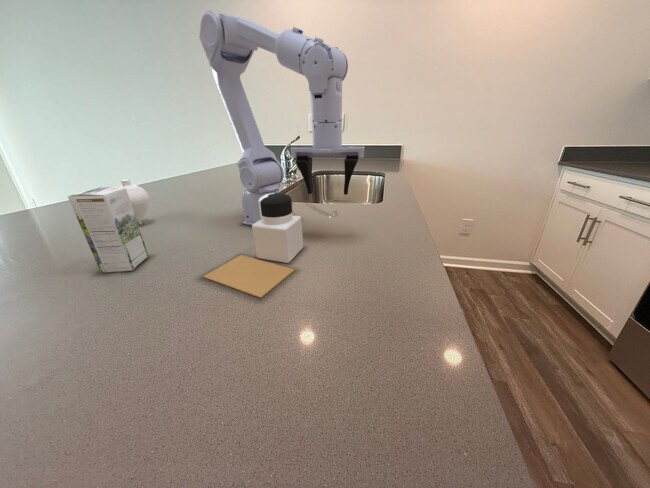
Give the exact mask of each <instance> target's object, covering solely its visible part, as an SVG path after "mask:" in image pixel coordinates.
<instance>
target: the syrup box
mask: <svg viewBox="0 0 650 488" xmlns="http://www.w3.org/2000/svg"><path fill="white" fill-rule="evenodd" d="M67 199H68V202H69V203H70V206H71V208H72V211H73V212H74V215H75V217H76V220H77V221H78V224H79V226H80V228H81V231H82V233H83V235H84V237H85V240H86V243H87V244H88V247H89V248H90V251H91V253H92V256H93V258H94V260H95V262H96V265H97V267H98V269H99V271H100V273H104V274H105V273H119V272H120V273H121V272H122V273H123V272H132V271H134V270H135V269H136V268H138V267H139V266H140V265H141V264H142V263H144V262H145V261H146V260H147V259H148V258H149V253H148V250H147V247H146V245H145V241H144V238H143V235H142V232H141V229H140V226H139V222H138V221H137V220H136V217H135V214H134V211H133V208H132V205H131V202H130V199H129V196H128V193H127V190H126V188H123V187H121V186H97V187H92V188H89V189H86V190H83V191H81V192H80V191H79V192H77V193H73V194H70V195H68V196H67Z"/></svg>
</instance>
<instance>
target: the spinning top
mask: <svg viewBox="0 0 650 488" xmlns="http://www.w3.org/2000/svg"><path fill="white" fill-rule="evenodd" d="M120 183H121V186H120V187H123V188H126V190H127V193H128V196H129V199H130V202H131V205H132V208H133V211H134V214H135V217H136V220H137V222H138V224H139V225H142V224H143V223H142V221H143V219H144V217H145V216H146V213H147V211H148V208H149V205H150V200H151V199H150V195H149V193H148V192H147V190H145V189H144V188H142V187H141V186H140V185H135V184H132V182H131V180H130V179H121V180H120Z"/></svg>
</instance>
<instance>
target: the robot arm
mask: <svg viewBox="0 0 650 488" xmlns="http://www.w3.org/2000/svg"><path fill="white" fill-rule="evenodd" d="M199 41H200V43H201V46H202V49H203V51H204V53H205V56H206V59H207V61H208V64H209V66H210V68H211V72H212V76H213V78H214V81H215V85H216V86H217V90H218V92H219V95H220V97H221V100H222V102H223V105H224V107H225V110H226V113H227V115H228V118H229V120H230V124H231V125H232V128H233V131H234V134H235V136H236V138H237V141H238V143H239V146H240V149H241V152H242V153H241V156H240V157H239V159H238V160H237V162H236V165H237V167H238V170H239V179H240V182H241V184H242V186H243V187H244V189H245V190H244V191H243V193H242V194H241V195H242V196H241V205H242V210H243V216H244V221H242V224H244V225H248V226H252V225H253V224H255V223H256V222H258V221H259V220H261V216H260V209H259V202H258V200H259V199H260V198H261V197H262V196H264V195H266V194H271V193H280V190H279V189H280V188H281V183H282V182H283V181H284V177H285V172H284V168H283V166H282V164H281V163H280V162H279V160H278V159H277V156H276V154H275V152H273V151H272V150H271V149H270V148H268V147H266V146H265V143H264V141H263V138H262V134H261V132H260V130H259V128H258V124H257V121H256V118H255V116H254V113H253V111H252V108H251V105H250V102H249V99H248V97H247V94H246V92H245V88H244V86H243V83H242V81H241V76H242V75H243V73H245V72H246V70H247V67H248V65H249V64H250V61H251V59H252V57H253V55H254V52H257V51H258V50H259V49H262V50H265V51H267V52H270V53H272V54H273V55H275V56H276V60H277V61H278V63H279V64H280V65H281V66H282V67H284V68H286V69H288V70H291V71H293V72H295V73H297V74H299V75H301V76H303V77H305V78H306V80H307V83H308V91H309V93H310V107H311V109H310V110H311V135H312V146H293V147H291V148H290V157H291V159H296V160H295V165H296V167H297V168H298V170H299V172H300V174H301V176H302V179H303V181H304V183H305V187H306V190H307V195H312V194H313V192H314V183H313V158H344V162H343V165H344V184H343V195H344V196H345V195H346V196H347V195H348V194H349V187H350V182H351V179H352V176H353V173H354V170H355V168H356V166H357V164H358V162H359V159H364V158H365V146H356V145H355V146H349V145H343V138H342V137H343V123H342V122H343V82H344V81H345V78H346V77H347V74H348V70H349V61H348V58H347V56H346V54H345V52H343V51H342V50H340V48H339V47H337V46H332V45H330V44H328V43H324V39H323V38H321V37H318V36H315V37H314V38H312V37H310V36H307V35H305V34H304V30H303V29H301V28H298V27H296V26H293V27H292V29H291V28H288V29H287V28H286V29H284V30H283V31H281V32H280V33H277V32H276V31H274V30H271V29H269V28H267V27H265V26H263V25H261V24H259V23H256V22H254V21H251V20H250V19H249V20H248V19H246V18H244V17H240V16H234V15H231V14H226V13H221V12H218V13H217V12H215V11H212V10H207V11H205V12H204V13H203V15H202V17H201V20H200V29H199Z"/></svg>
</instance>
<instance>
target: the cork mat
mask: <svg viewBox="0 0 650 488" xmlns="http://www.w3.org/2000/svg"><path fill="white" fill-rule="evenodd" d="M294 272H295V269H294V268H291V267H287V266H283V265H280V264H277V263H272V262H269V261H267V260H263V259H259V258H254V257H251V256H248V255H243V254H240V255H238V256H236V257H234V258H233V259H231V260H229V261H227V262H226V263H224V264H222V265H221V266H219V267H216V268H215V269H214V270H212V271H210V272H208V273H207V274H205V275H203V276H202V277H203V279H206V280H208V281H211V282H214V283H217V284H219V285H222V286H225V287H228V288H230V289H233V290H236V291H238V292H242V293H243V294H248V295H250V296H253V297H255V298H258V299H263V298H264V297H265V296H266V295H268V293H270V292H271V291H272V290H273V289H275V288H276V287H277V286H278V285H279V284H281V283H282V282H283V281H284V280H286V279H287V278H288V277H289V276H290V275H292V274H293V273H294Z"/></svg>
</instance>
